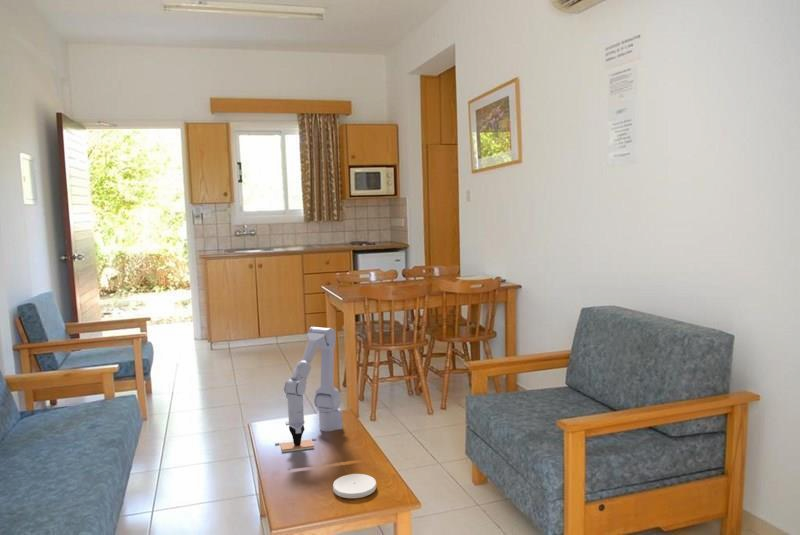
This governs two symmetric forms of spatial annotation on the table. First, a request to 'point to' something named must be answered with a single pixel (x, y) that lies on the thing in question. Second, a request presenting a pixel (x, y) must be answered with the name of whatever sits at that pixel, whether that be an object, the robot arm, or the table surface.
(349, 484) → the plastic lid
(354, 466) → the table surface
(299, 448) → the flap
